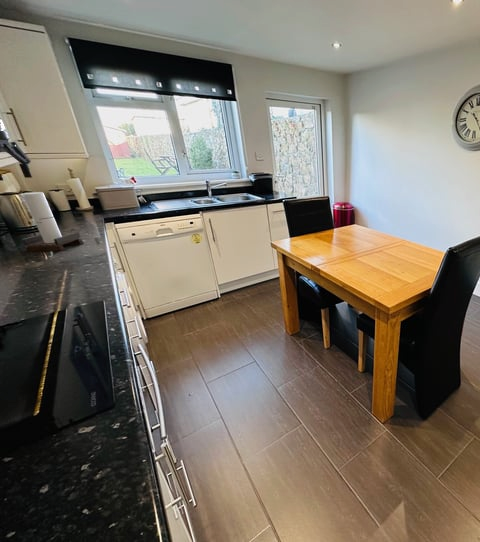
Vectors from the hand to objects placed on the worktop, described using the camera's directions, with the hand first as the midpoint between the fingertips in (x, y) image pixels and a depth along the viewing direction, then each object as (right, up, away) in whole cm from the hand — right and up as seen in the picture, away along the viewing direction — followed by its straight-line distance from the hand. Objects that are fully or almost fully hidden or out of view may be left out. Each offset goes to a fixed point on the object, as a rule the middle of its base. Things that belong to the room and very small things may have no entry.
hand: (14, 179), depth 135 cm
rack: (+2, -32, +17) cm, 36 cm away
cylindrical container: (+2, -28, +15) cm, 32 cm away
